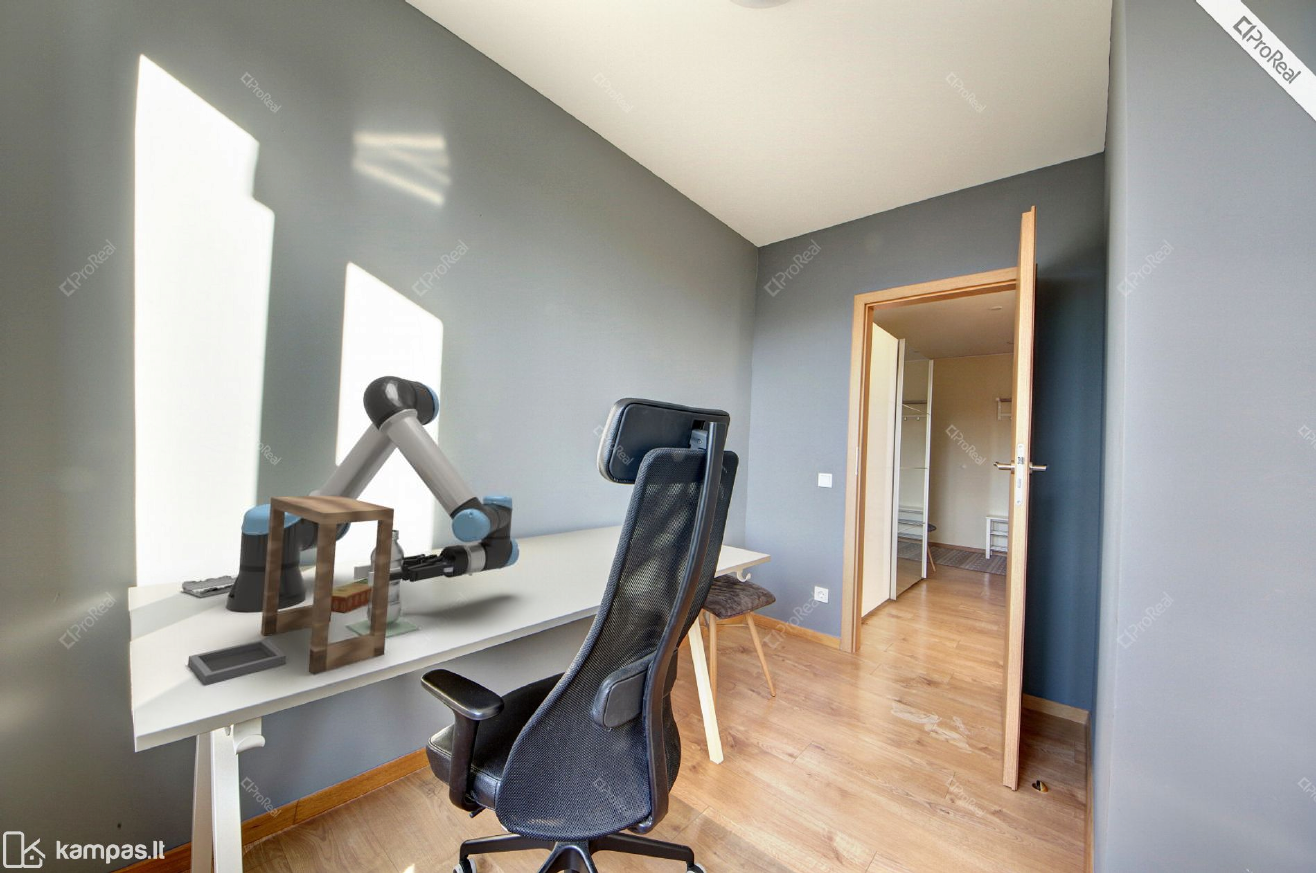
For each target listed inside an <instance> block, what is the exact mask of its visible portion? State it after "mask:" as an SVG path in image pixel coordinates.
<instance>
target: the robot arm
mask: <svg viewBox="0 0 1316 873" xmlns="http://www.w3.org/2000/svg"><path fill="white" fill-rule="evenodd" d="M362 401H363V407H364V410H365V413H366V415H367V417H368V418H369V420H370V421H371V424H370V425H369V426H368V427H367V429H365V431H364V433H363V434H362V436H361V437H360V438H359V439H358V441H357V442H356V443H355V445H354V446H353V447H352V448H351V450H349V453H348V454H347V455H346V456H345V458H344V459H343V460H342V462H341V463H340V464H339V465H338V467H337V468H336V469H335V471H334V472H333V473H332V475H331V476H330V477H329V478H328V479H327V481H326V482H325V484H323V486H322V488H321V489H317V490H312V491H311V492H310V493H309V494H308V495H307V496H323V495H338V496H342V497H346V498H350V499H355V500H358V499H359V497H360V496H361V494H362V493H363V492H364V491H365V489H366V488H367V487H368V485H369V484H370V483H371V481H372V480H373V479H374V477H376V475H377V474H378V472H379V471H380V470H381V468H382V467H384V466H383V465H384V464H385V463H386V462H387V461H388V459H389V458H390V457H391V455H392V454H393V453H394V452H395V450H396V449H398V450H399V452H400V453H401V455H402V456H403V457H404V458H405V460H406V461H407V463H408V464H409V465H410V466H411V468H412V469H413V470H414V472H415V473H416V474H417V475H418V477H419V479H420V480H422V482H423V483H424V485H425V487H427V488H428V489H429V491H430V492H431V494H432V495H433V497H434V498H435V499H436V500H437V501H438V503H439V504H440V505H441V507H442V508H443V509H444V511H445V512H446V514H447V515H448V516H449V517H450V519H451V520H452V522H451V530H452V533H453V536H454V537H455V538H456V539H457V540H459V541H460V542H463V543H462V544H458V545H457V544H456V545H447V546H445V547H444V548H442V549H441V552H440V553H439V555H438V554H436V553H435V554H429V555H426V554H425V553H420V554H417V555H409V556H404V559H403V564H402V568H394V569H390V578H389V583H390V582H396V581H400V582H401V581H403V582H407V581H409V582H410V583H414V582H419V581H422V580H423V581H424V580H428V579H433V578H438V577H439V578H440V577H443V576H444V577H445V578H448V579H451V578H457V577H461V576H465V575H469V576H470V577H471V576H473V574H476V573H482V572H486V571H487V572H488V571H492V570H501V569H504V568H507V567H511V566H512V565H513V566H514V565H515V563H516V562H517V561H518V560H519V557H520V549H519V544H518V542H517V540H516V539H514V538H511V530H512V520H513V519H512V515H513V498H512V496H510V495H507V494H487V495H484V497H483V498H482V501H481V500H480V499H479V498H478V497H477V495H476V494H475V492H474V491H473V490H472V489H471V487H470V486H469V485H468V483H467V482H466V481H465V479H464V478H463V477H462V476H461V474H460V473H459V472H458V470H457V469H456V467H455V466H454V465H453V464H452V462H451V461H450V460H449V459H448V457H447V456H446V454H445V453H444V452H443V451H442V449H441V448H440V447H439V446H438V444H437V443H436V441H435V440H434V439H433V437H432V436H431V435H430V433H429V432H428V431H427V430H426V428H425V427H424V426H426V425H428V424H430V423H432V422H433V421H434V420H435V419H436V418H437V416H438V414H439V411H440V402H439V397H438V395H437V392H436V391H435V390H434V389H432V387H430V386H429V385H427V384H424V383H423V382H420V381H414V380H411V379H405V378H402V377H400V376H394V375H385V376H380V377H378V378H375V379H373V381H371V382H370V383H368V385H367V387H366V388H365V389H364V392H363V397H362ZM270 505H271V503H268V504H261V505H258V506H254V507H252V508H249V509H248V510H247V511H246V512H245V513H244V515H243V521H242V524H241V529H240V530H241V536H240V538H241V539H240V550H239V552H240V553H239V554H240V555H239V568H238V574H237V576H236V577H237V578H236V577H235V578H236V580H235V582H234V583H232V584H233V586H232V589H231V591H230V592H228V594H227V598H226V608H227V609H229V610H230V611H236V612H247V613H249V612H250V613H251V612H263V599H264V585H265V572H266V558H267V545H268V532H269V518H270ZM351 525H352V523H340V524H337V535H336V542H338V541H340V540H342V539H343V538H344V537H345V536H346V535H347V534H348V532H349V530H350V528H351ZM318 529H319V523H317V522H314V521H311V520H308V519H305V518H302V517H299V516H296V515H293V514H289V513H286V512H285V519H284V533H283V547H282V560H281V574H280V587H279V601H278V610H279V609H283V608H287V607H291V606H294V605H298V604H300V603H301V602H303V601H305V599H306V597H307V587H306V584H305V581H304V578H303V574H302V572H301V569H300V565H301V564H300V562H301V552H306V551H309V550H315V549H317V543H318ZM353 567H354V568H353V580H354V581H359V580H362V579H365V578H368V585H367V586H373V582H374V572H372V570H371V563H370V564H365V565H357V566H353Z"/></svg>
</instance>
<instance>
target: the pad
mask: <svg viewBox="0 0 1316 873" xmlns="http://www.w3.org/2000/svg"><path fill="white" fill-rule="evenodd" d="M370 626H371V623H370V622H369V620H368V619H367V620H362V621H358V622H354V623H349V624H346V626H345V627H346V628H347V629H349V630H351V631H352V632H354V633H356V634H357V635H358V636H361V635H365V634H369V633H370ZM419 630H421V627H420V626H418V625H416V624H414V623H412V622H410V621H408V620H406V619H404V618H401V616H400V617H399V618H398V619H397V620H396V621H395V622H392V623H388V624H386V636H385V639H388V638H393V637H395V636H400V635H403V634H407V633H410V632H415V631H419Z"/></svg>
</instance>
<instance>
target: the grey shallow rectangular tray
mask: <svg viewBox="0 0 1316 873" xmlns="http://www.w3.org/2000/svg"><path fill="white" fill-rule="evenodd" d="M286 661H287V655H286V654H285V653H283V651H281V650H280V649H279V648H277V647H276V646H275V645H274V644H272V643H271V642H270V641H269V640H267V639H266V638H264V639H259V640H255V641H250V642H246V643H241V644H237V645H234V646H233V645H232V646H229V647H224V648H220V649H215V650H211V651H207V652H202V653H197V654H193V655H189V656H188V660H187V662H188V663H187V664H188V666H189V668H190V669H191V670H192V671H193V672H194V674H195V675H196V676H197V677H198V678H199V680H200V681H201V683H202V684H203V685H204V686H208V685H211V684H215V683H219V682H222V681H226V680H230V679H234V678H238V677H241V676H245V675H248V674H252V673H255V672H260V671H263V670H268V669H272V668H275V666H276V667H279V666H283V665H286ZM278 665H279V666H278ZM267 668H268V669H267Z"/></svg>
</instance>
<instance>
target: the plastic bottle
mask: <svg viewBox="0 0 1316 873" xmlns="http://www.w3.org/2000/svg"><path fill="white" fill-rule="evenodd" d="M399 535H400V530H397V529H393V534H392V548H391V563H390V569H394V568H402V564H403V559H404V557H405V552H404V550H403V548H402V546H401V545H400V543H399V542H398V540H399V539H400V536H399ZM375 553H376V546H375V547H374V548H373V549H372V551H371V553H370V564H371V570H372V572H374V568H375ZM400 584H401V581H396V582H390V583H389V592H388V607H387V622H386V624H388V623H392V622H395V621H396V620H397V619H398V618H399V617H400V618H401V613H402V601H401V593H400V592H401V590H400V586H401V585H400ZM372 597H373V586H372V589H371V596H370V602H369V604H367V610H366V616H367V617H366V618H367V620H369V622H370V623H371V611H372Z"/></svg>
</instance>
